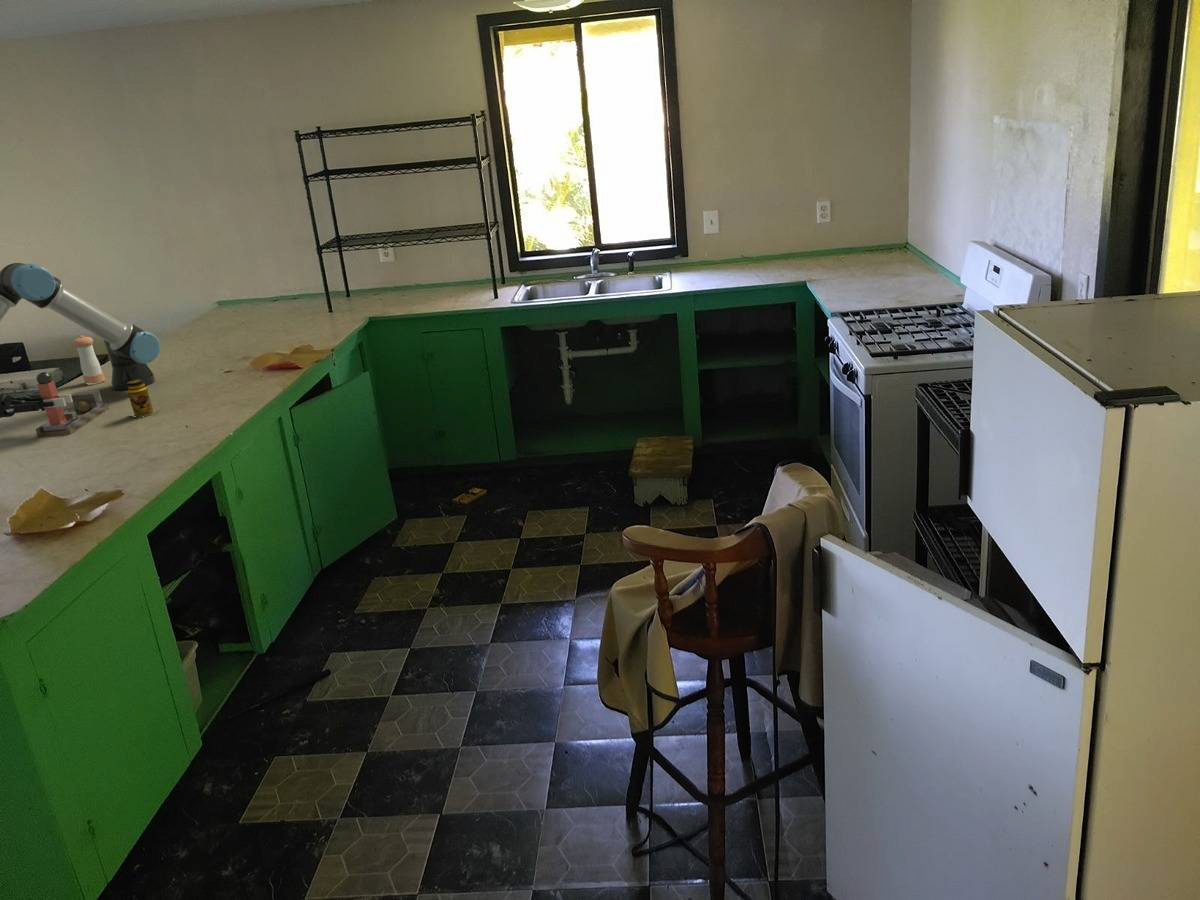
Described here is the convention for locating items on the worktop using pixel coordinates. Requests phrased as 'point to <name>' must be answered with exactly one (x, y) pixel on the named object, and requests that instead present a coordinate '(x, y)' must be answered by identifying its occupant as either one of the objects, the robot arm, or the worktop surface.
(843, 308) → the worktop surface
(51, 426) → the handle carriage
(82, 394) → the press base
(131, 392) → the condiment
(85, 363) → the pepper shaker
